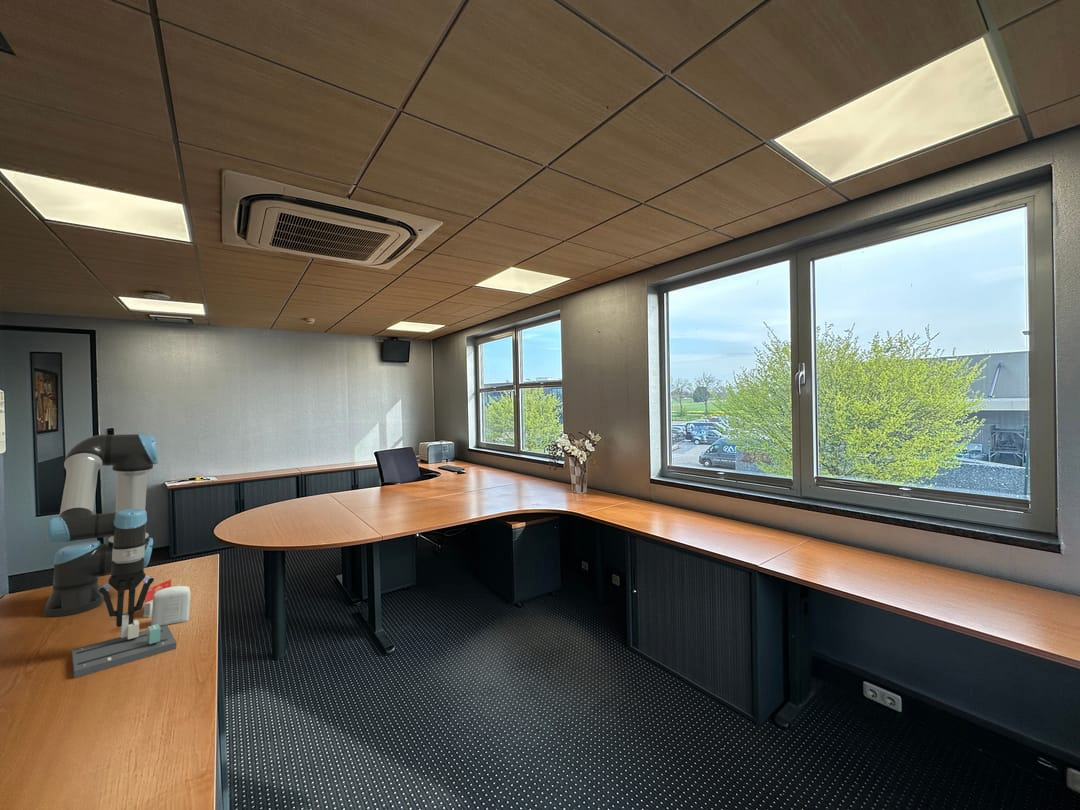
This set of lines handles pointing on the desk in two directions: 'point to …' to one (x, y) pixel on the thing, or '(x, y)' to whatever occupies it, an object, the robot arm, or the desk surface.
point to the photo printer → (171, 605)
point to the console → (119, 652)
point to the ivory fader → (133, 630)
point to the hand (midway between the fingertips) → (123, 635)
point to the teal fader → (153, 633)
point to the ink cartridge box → (149, 598)
